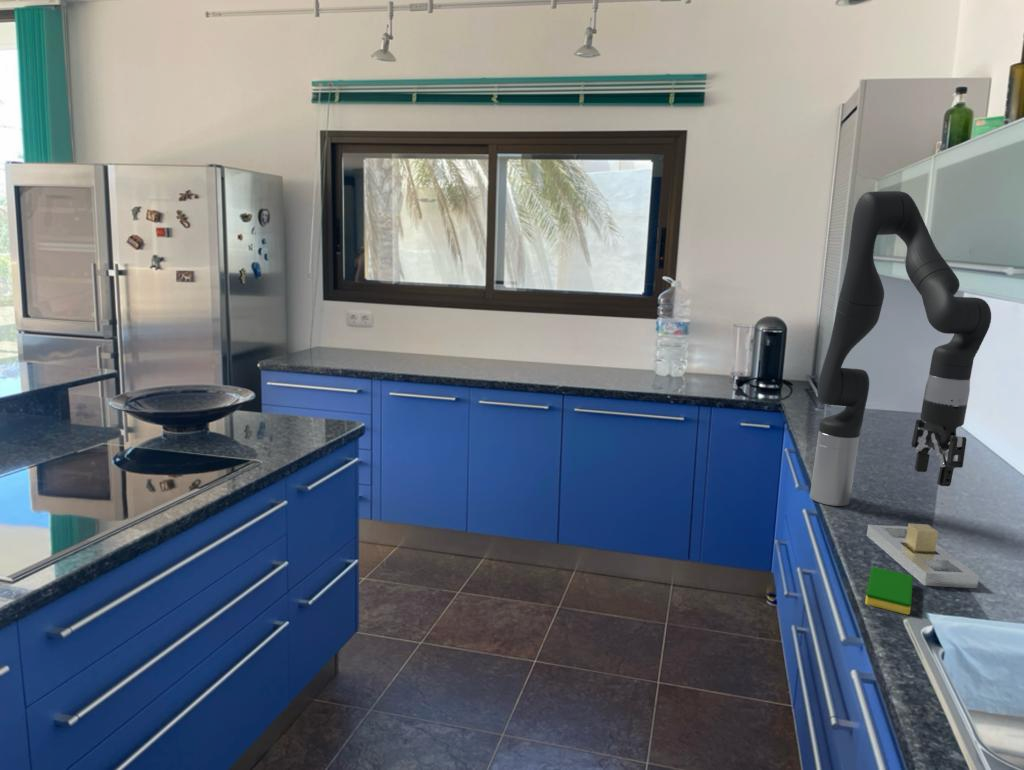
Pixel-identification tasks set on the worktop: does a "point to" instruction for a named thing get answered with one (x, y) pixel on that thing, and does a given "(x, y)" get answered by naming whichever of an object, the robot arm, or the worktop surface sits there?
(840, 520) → the worktop surface
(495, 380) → the worktop surface
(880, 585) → the dish sponge
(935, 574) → the rail plate
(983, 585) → the worktop surface
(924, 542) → the brass peg
